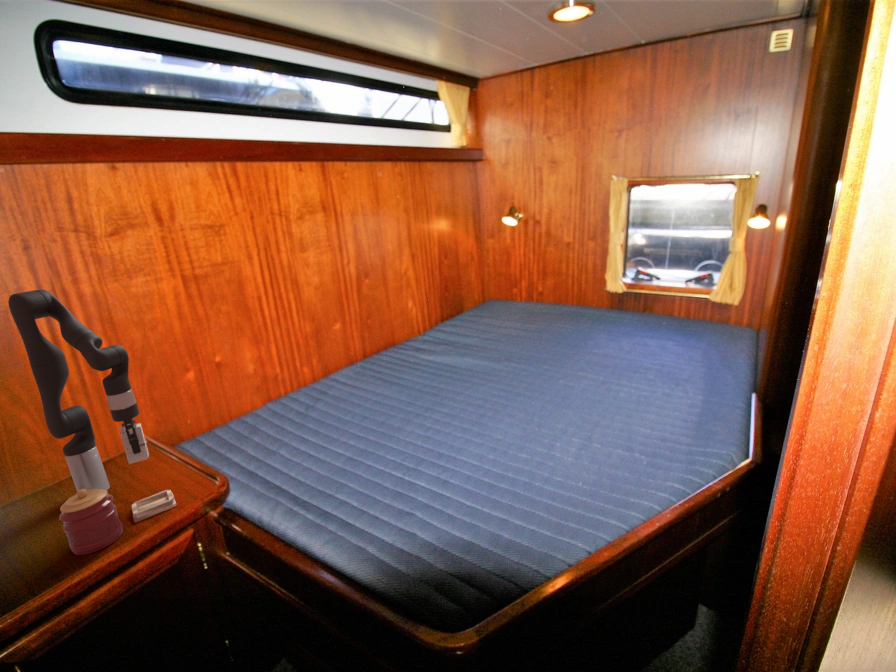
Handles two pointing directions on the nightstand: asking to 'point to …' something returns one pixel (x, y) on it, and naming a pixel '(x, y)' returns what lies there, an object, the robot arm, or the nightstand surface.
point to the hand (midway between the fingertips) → (136, 450)
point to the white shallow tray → (153, 505)
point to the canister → (90, 521)
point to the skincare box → (128, 449)
